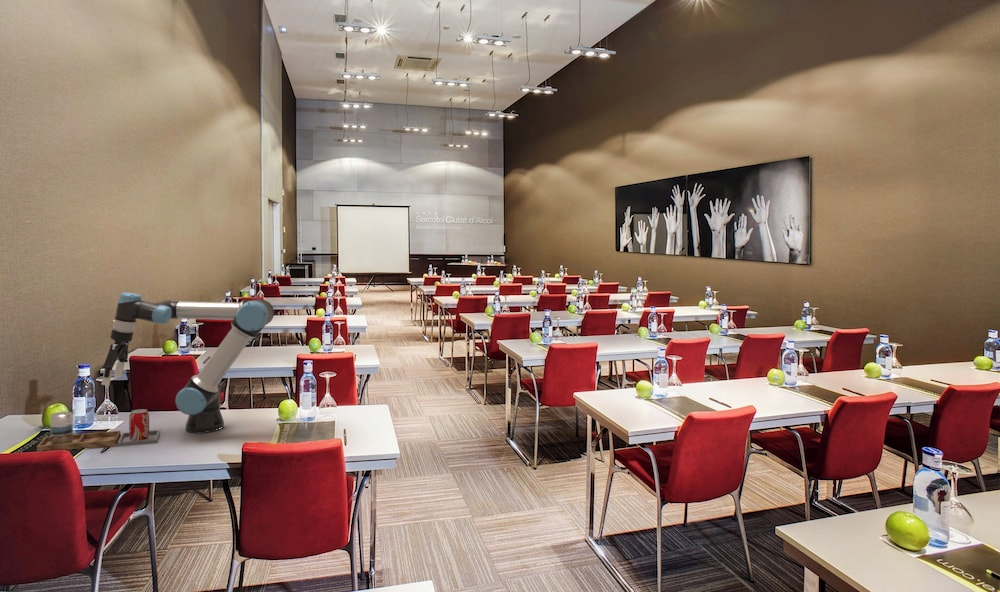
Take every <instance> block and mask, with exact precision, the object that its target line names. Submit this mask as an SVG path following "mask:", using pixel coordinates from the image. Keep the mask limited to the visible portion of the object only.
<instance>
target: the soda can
mask: <svg viewBox="0 0 1000 592" xmlns="http://www.w3.org/2000/svg"><path fill="white" fill-rule="evenodd" d="M130 411H131V413H130V414H129V418H128V423H129V424H128V433H129V441H137V440H148V438H149V437H150V435H149V431H150V413H149V412H148V409H146V408H145V409H144V408H140V409H133V410H130Z"/></svg>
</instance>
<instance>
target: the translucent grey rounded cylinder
mask: <svg viewBox="0 0 1000 592" xmlns="http://www.w3.org/2000/svg"><path fill="white" fill-rule="evenodd" d="M49 415H50V417H49V419H50V422H49V423H50V425H49V427H50V428H49V431H50V432H49V433H50V436H51V445H53V444H66V443H73V434H74V433H73V432H74V424H73V421H74V419H73V412H71V411H59V412H58V411H57V412H54V413H51V414H49Z"/></svg>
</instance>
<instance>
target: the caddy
mask: <svg viewBox="0 0 1000 592" xmlns="http://www.w3.org/2000/svg"><path fill="white" fill-rule="evenodd" d="M121 434H122V432H121V430H117V431H116V430H114V431H103V432H99V431H98V432H87V433H73V443H66V444H53V445H51V435H49V436H45V437H43V439H42V440H41V441H40V442H39V443H38V444H37V445H36V452H37V451H43V450H52V449H68V450H67V451H73V450H72V449H78V450H82V449H81V448H90V449H99V448H101V449H102V448H113V447H117V443H118V440H119V438H120V436H121ZM70 449H71V450H70Z"/></svg>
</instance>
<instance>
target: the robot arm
mask: <svg viewBox="0 0 1000 592" xmlns="http://www.w3.org/2000/svg"><path fill="white" fill-rule="evenodd" d="M274 316H275V309H274V306H273V305H272V304H271V302H269V301H267V300H265V299H261V298H258V299H253V300H251V299H250V300H246V299H245V300H244V299H243V300H241V301H240V302H230V301H229V302H228V301H227V302H226V301H225V302H224V301H222V302H221V301H183V300H182V301H177V300H164V301H160V302H149V301H144V300H143V299H142V295H141V294H138V293H135V292H129V291H127V292H125V291H124V292H121V293H120V295H119V299H118V302H117V307H116V311H115V316H114V319H113V320H112V323H113V325H112V330H111V333H110V336H109V337H110V339H111V340H113V341H114V343H111V344H110V345H109V350H108V353H107V355H106V359H105V361H104V363H103V366H102V367H101V368H102V369H103V375H102V379H101V384H100V385H102V386H108V387H109V386H110V384H111V380H112V374H114V375H113V377H114V378H118V379H122V377H123V373H124V368H125V364H126V363H128V361H129V360H128V359H129V358H128V357H129V344H130V342H132V341H133V336H134V331H135V329H136V328H135V327H136V322H137V320H142V321H147V322H151V323H155V324H160V325H161V324H162V325H167V324H168V323H169V322H170V321H171V320H173V319H174V320H175V319H176V320H178V319H179V320H180V319H181V320H183V319H184V320H216V321H217V320H221V321H223V320H225V321H229V320H230V321H231V322H230V324H231V329H230V330H229V331H228V333H227V335H226V336H225V337H224V338H223V340H222V341H221V342H220V344H219V345H218V347H217V348H216V350H215V351H214V352H213V354H212V355H211V357H210V358H209V359H208V361H207V362H206V363H205V365H204V366H203V368H202V369H201V370H200V372H199V373H198V374H195V375H192V376H191V377H190V379H189V380H188V382H187V383H186V384H185V386H184V387H183V388H181V389H180V390H179V391H178V393H177V394H176V397H175V405H176V406H175V407H176V408H177V409H178V411H179V412H180V413H182V414H184V415H187V416H188V417H187V420H186V423H185V431H186V432H188V431H189V433H194V432H205V433H207V432H206V431H212V432H214V431H213V430H216V429H219V428H221V427H223V426H224V427H225V420H224V418H223V415H222V412H221V409H220V408H221V407H220V406H221V381H222V379H223V378H224V377H225V375H226V373H227V372H228V371H229V369H230V368H231V367H232V366H233V364H234V363H235V362H236V360H237V359H238V357H239V356H240V354H241V353H242V352H243V350H244V349H245V348H246V346H247V345H248V343H249V342H250V341H251V339H256V338H257V337H258V336H259V335H260V333H261V332H262V330H263V329H264V327H265V326H267V325H268V324H270V323H271V321H272V320H273V318H274ZM117 359H118V361H117ZM116 361H117V362H116ZM115 364H116V366H115ZM114 366H115V370H114V369H113V367H114ZM113 370H114V371H113ZM113 372H114V373H113ZM224 427H223V428H224Z"/></svg>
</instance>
